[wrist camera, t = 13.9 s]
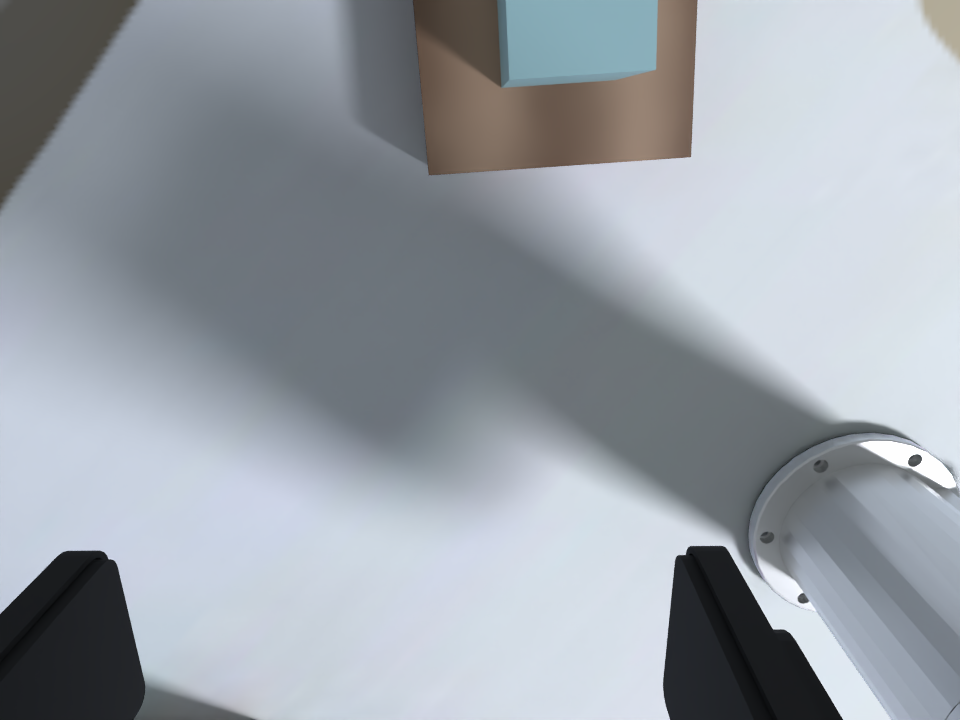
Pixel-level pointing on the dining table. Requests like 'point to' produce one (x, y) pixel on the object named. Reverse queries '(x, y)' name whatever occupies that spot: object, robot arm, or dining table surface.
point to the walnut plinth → (546, 98)
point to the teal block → (575, 40)
